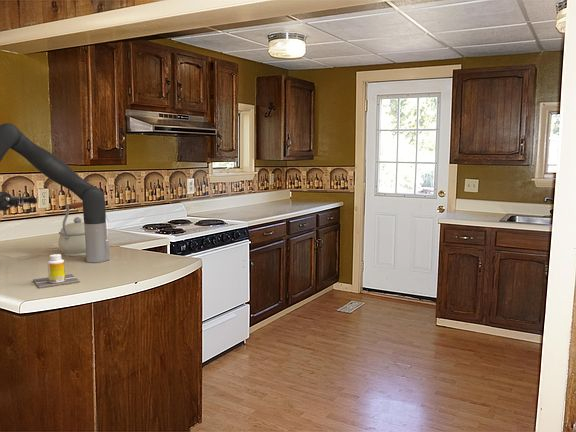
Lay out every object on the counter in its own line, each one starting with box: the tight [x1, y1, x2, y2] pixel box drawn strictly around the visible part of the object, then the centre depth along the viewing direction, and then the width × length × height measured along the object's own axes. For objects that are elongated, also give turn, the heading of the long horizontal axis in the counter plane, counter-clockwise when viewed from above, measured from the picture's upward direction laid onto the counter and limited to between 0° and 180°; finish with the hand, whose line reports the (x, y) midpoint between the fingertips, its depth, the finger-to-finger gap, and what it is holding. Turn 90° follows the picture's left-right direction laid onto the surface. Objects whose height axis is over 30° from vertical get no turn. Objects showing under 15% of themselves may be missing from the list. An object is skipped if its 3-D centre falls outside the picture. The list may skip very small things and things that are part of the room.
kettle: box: [58, 201, 86, 257], centre depth 251 cm, size 25×18×25 cm
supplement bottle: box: [47, 253, 66, 283], centre depth 191 cm, size 6×6×10 cm
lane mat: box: [32, 273, 81, 289], centre depth 195 cm, size 14×14×1 cm
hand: (27, 201), depth 198 cm, fingers open, 8 cm apart
